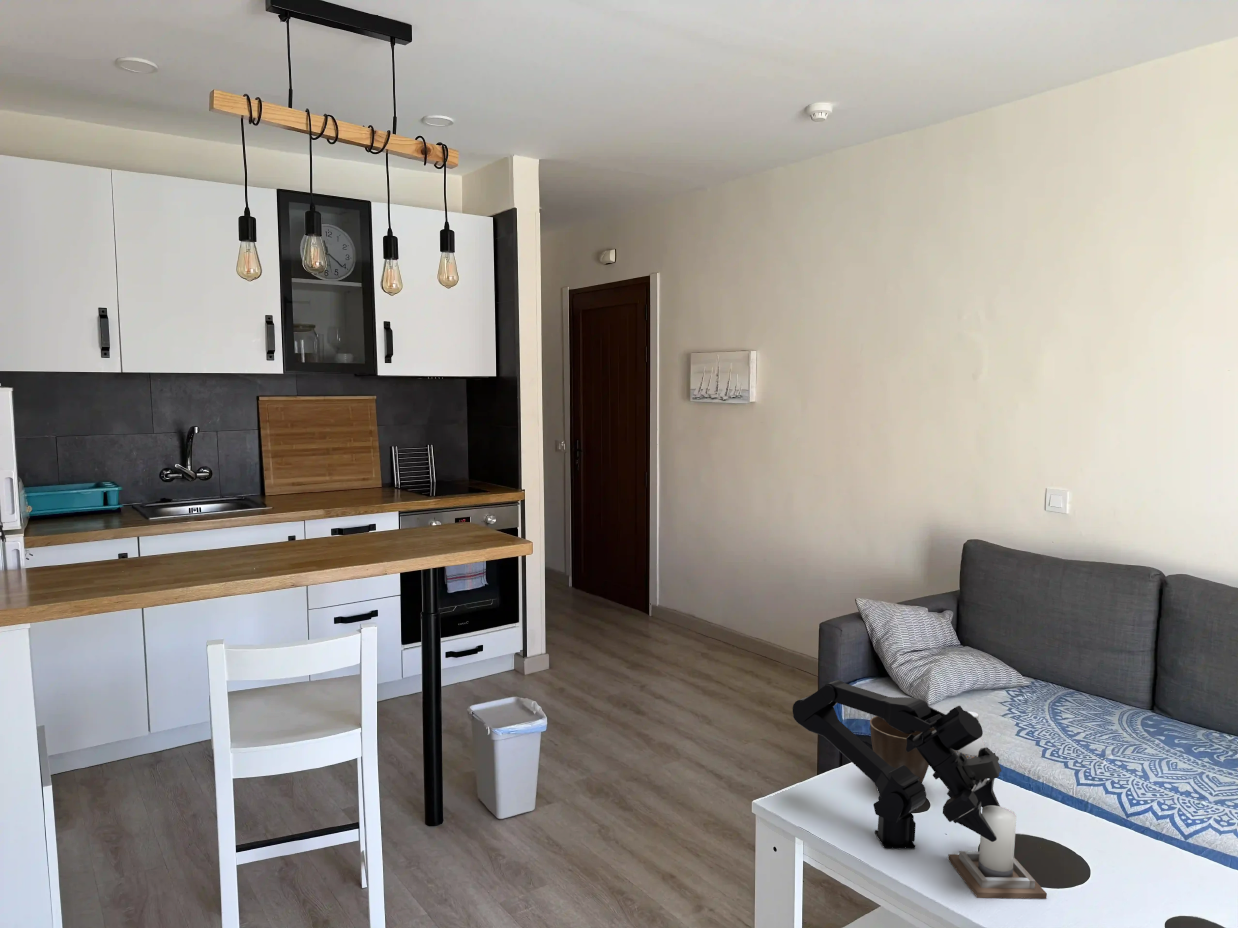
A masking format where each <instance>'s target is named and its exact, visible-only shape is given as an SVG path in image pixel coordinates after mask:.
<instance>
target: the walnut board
mask: <svg viewBox="0 0 1238 928" xmlns="http://www.w3.org/2000/svg"><path fill="white" fill-rule="evenodd" d="M979 851H980V850H979ZM979 851H977V850H976V851H975V850H974V851H973V850H972V851H969V850H967V851H965V850H960V851H958V852H959V853H957V854H955V853H954V854H953V853H952V854H949V853H948V855H947V859H948V861H949V863H950V864H951V865H952V866H953V867H954V869H955V870H956V872H957V873H958V874H959V876H960V877H961V878H962V880H963V881H964V882H965V884H966V885H967V886H968V888H969V889H970V891H971V892H972V893H973V894H974V896H975V897H976V898H979V899H1039V900H1040V899H1041V900H1043V899H1047V897H1048V896H1047V892H1046V891H1045V890H1044V889H1043V888H1042V886H1041V885H1040V884H1039V883H1038V882H1037V881H1036V880H1035V879H1034V877H1033V876H1032V875H1031V874H1030V873H1029V872H1028V871H1027V870H1026V869H1025V867H1024V866H1023V865H1022V864H1021V863H1020V862H1019V861H1018V859H1016V858H1015V857H1014V861H1013V878H1003V877H985V876H984V875H983V874H982V873H981V871H980V870H979V869H978V863H979Z"/></svg>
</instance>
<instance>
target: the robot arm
mask: <svg viewBox="0 0 1238 928" xmlns="http://www.w3.org/2000/svg"><path fill="white" fill-rule="evenodd" d="M837 704H839V705H842V706H845V707H848V708H851V709H854V710H857V711H860V712H863V713H865V714H869V715H872V716H874V717H875V716H878V717H880V718H882V719H884V720H885V721H886V722H887V723H888V724H889V725H890V726H892V727H894V728H895V729H897V730H899V731H901V732H903V733H906V734H910V735H909V736H908V737H907V739H906V740H907V746H906V751H907V752H910V751H911V750H913V749H915V748H916V749H917V750H918V751H919V753H920V754H921V755H922V756H923V758H924V759H925V760H926V762H927V763H928V764H929V767H930V768H931V769H932V771H933V772H934V773H933V774H932V776H933V778H934V779H935V780H938V779H939V780H940V781H941V782H942V783H943V785H944V786H945V787H946V789H948V791H947V793H946V794H947V796H948V797H949V799H947V800H946V801H945V803H944V805H943V806H942V814H943V816H944V817H945V818H946V819H947V821H948V822H949V823H951V822H953V823H954V824H959V825H960V826H963V827H965V828H966V829H969V830H971V831H972V832H974V833H976V834H978V835H979V836H983V837H984V838H986V839H988V840H990V841H991V842H994V841H996V840H997V838H996V836H995V834H994V832H993V831H992V829H991V828H990V826H989V824H988V823H987V821H986V820H985V818H984V817H983V815H982V808H983V807H985V806H989V805H994V806H1000V807H1001V805H1000V803H999V801H998V799H997V796H996V794H995V792H994V783H995V779H997V778H999V776H1000V773H1001V772H1002V768H1001V765H1000V763H999V761H1000V757H999V756H997V754H996V752H993V751H992V750H991V749H990V748H989V747H987V746H985V747H986V748H981V749H980V750H979V753H978V757H977V756H975V757H974V758H971V759H967V758H966V756H965V755H964V754H961V753H960V754H957V753H956V752H955V751H954V750H960V749H962V748H964V747H965V746H967V745H969V744H970V743H972V742H974V741H975V740H977V739H979V738H980V737H982V738H983V735H984V734H983V732H984V731H983V728H982V725H981V723H980V721H979V719H978V720H977V718H974V716H973V715H971V714H970V713H969V712H970V711H966V710H965V709H963V708H962V706H961V705H957V706H955V707H954V708H952V709H950V710H949V712H947V713H943V712H941V711H939V710H938V709H935V708H933V707H930V706H929V705H928V702H926V701H925V700H924V699H921V698H915V697H907V696H905V697H904V696H902V697H893V696H887V695H883V694H882V693H878V692H874V691H870V690H868V689H864V688H863V687H862V688H861V687H858V686H855V685H851V684H848V683H845V682H844V681H842V680H838V679H837V680H834V681H833V680H832V681H831V682H828V683H825V684H824V685H823V686H822V687H821V688H819V689H818V690H817V691H815V692H814V693H812V694H811V695H808V696H806V697H803V698H800V699H797V700H795V701H794V703H793V705H792V714H793V715H792V717H793V720H794V721H795V722H796V723H797V724H798V725H800V726H801V727H802V728H804V729H805V730H807V731H808V732H811V733H813V734H817V735H820V736H822V737H824V738H825V739H826V740H827V741H828V742H829V743H830V744H831V745H832V746H834V747H835V748H836V750H838V751H839V752H840V753H841V754H842V755H843V756H844V757H845V758H847V759H848V760H849V761H850V762H851V763H852V764H853V765H854V766H855V767H857V768H858V769H859V770H860V772H862V774H864V775H865V776H866V777H867V778H868V779H869V780H871V782H873V784H874V785H875V787H876V789H877V791H878V796H879V797H880V798H881V799H879V800H878V801H875V802H874V803H873V805H872V806H873V809H874V810H873V811H874V814H875V815H876V816H877V817H878V821H877V822H878V823H877V830H875V831H874V834H875V836H876V837H877V839H878V841H879V842H880V844H881V846H882V847H883V848H884V849H890V850H892V849H893V850H895V849H896V850H897V849H898V850H899V849H900V850H902V849H903V850H915V849H916V845H915V843H914V842H915V840H916V828H917V827H916V824H917V823H916V821H915V819H914V816H915V815H914V814H913V812H916V811H917V810H918V808H920V807H921V806H923V804H924V803H925V802H926V800H927V792H926V787H925V784H924V783H923V782H922V783H921V782H920V781H919V779H920V777H918V776H916V775H914V774H913V773H912V772H911V771H910V770H909V769H908V768H907V767H906V766H905V765H902V766H900V767H899V768H894V767H892V766H890V765H889V764H887V763H886V762H885V761H884V760H883V759H882V758H881V757H880V756H878V755H877V754H876V753H875V752H874V751H873V748H870V746H868V745H867V744H866V743H865V742H864V741H863V740H862V739H860V737H858V735H856V734H855V733H854V732H853V731H851V730H850V728H848V727H847V726H846V725H845V724H844V723H842V722H841V721H840V719H839V717H838V716H837V715H838V714H837V713H836V709H835V706H837ZM933 727H934V728H935V730H934V731H930V730H929V729H931V728H933ZM916 731H919V732H922V733H920V734H919V735H912V734H911V733H914V732H916Z"/></svg>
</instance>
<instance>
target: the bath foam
mask: <svg viewBox="0 0 1238 928" xmlns="http://www.w3.org/2000/svg"><path fill="white" fill-rule="evenodd" d="M968 712H969V713H970V714H971V715H973V716H974V718H977V720H978V721H979V713H977V712H975V711H968ZM986 747H987V746H986V743H985V741H984V738H983V736H982V737H980V738H979V739H977V740H975V741H974V742H972V743H970V744H969V745H967V746H965V747H964V748H962V749H960V750H954V751H955V752H956V753H957V754H960V753H961V754H964V755H965V756H966V758H967V759H971V758H974V757H975V756H977V757H978V753H979V750H980V749H981V748H986Z"/></svg>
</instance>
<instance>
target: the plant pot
mask: <svg viewBox="0 0 1238 928" xmlns="http://www.w3.org/2000/svg"><path fill="white" fill-rule="evenodd" d="M869 729H870V738H871V739H870V740H871V745H872V746H871V747H872V750H873V751H874V752H875V753H876V754H877V755H878V756H880V757H881V758H882V759H883V760H884V761H885V762H886V763H887V764H889V765H890V766H892V767H894V768H899V767H900V766H902V765H905V766H906V767H907V768H908V769H909V770H910V771H911V772H912V773H913V774H914V775H916V776H918V777H920V779H919V781H920V782H921V783H922V784H923V781H924V780H925V777H926V775H927V772H928V769H929V767H930V765H929V764H928V763H927V762H926V760H925V759H924V758H923V756H922V755H921V754H920V753H919V751H918V750H917V749H916V748H915V749H913V750H911V751H910V752H907V751H906V746H907V740H906V739H907V737H908V736H909V735H910V734H906V733H903V732H901V731H899V730H897V729H895V728H894V727H892V726H890V725H889V724H888V723H887V722H886V721H885V720H884V719H882V718H880V717H878V716H875V715H874V716H873V717H872V718H871V719H870V720H869ZM929 730H930V731H934V730H935V728H934V727H933V728H931V729H929ZM920 733H922V732H919V731H916V732H914V733H911V734H912V735H919V734H920Z"/></svg>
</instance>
